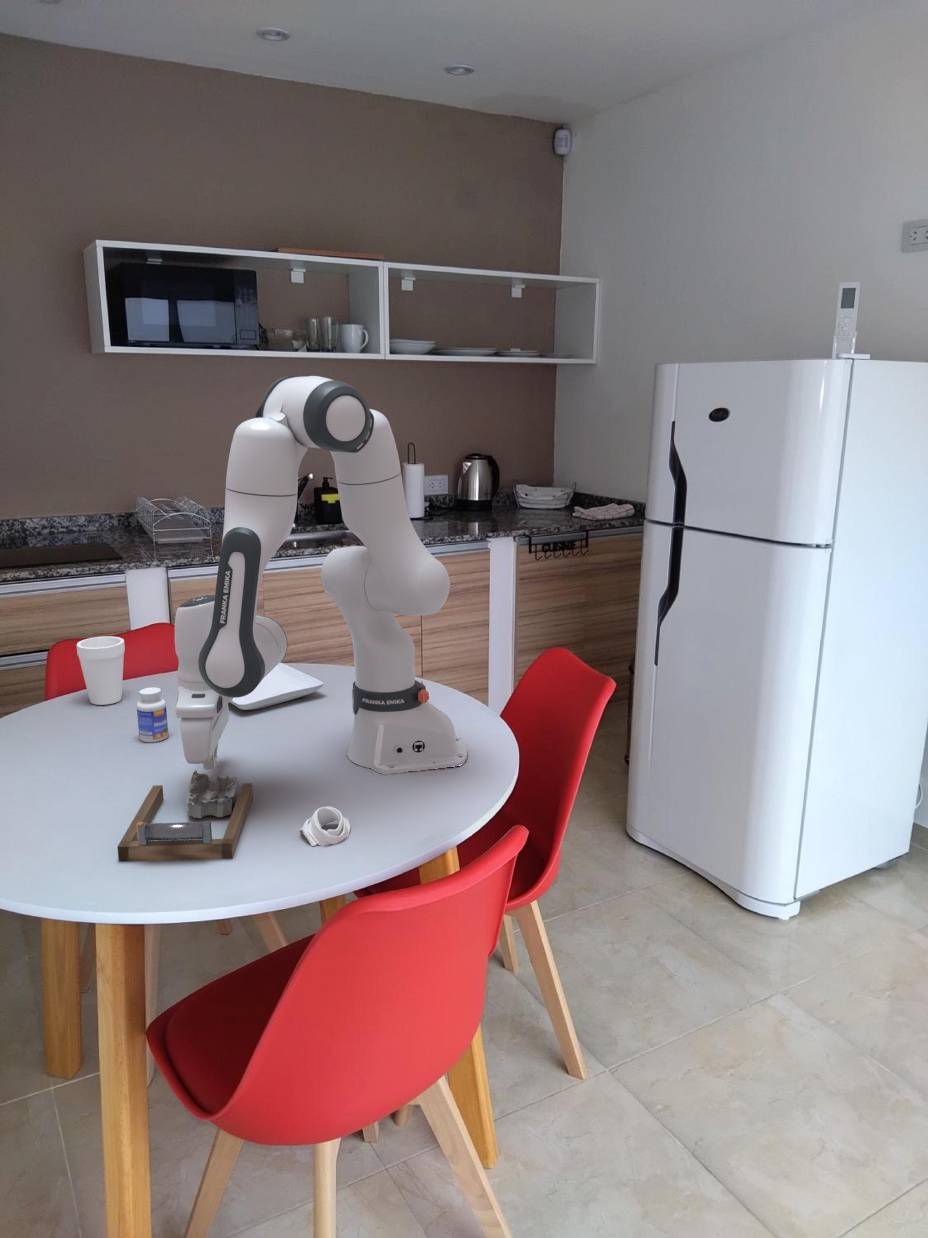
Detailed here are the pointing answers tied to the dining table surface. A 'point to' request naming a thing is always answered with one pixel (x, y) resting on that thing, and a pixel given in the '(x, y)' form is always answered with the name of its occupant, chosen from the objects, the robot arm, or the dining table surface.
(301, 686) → the salad plate
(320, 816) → the white crumpled cloth
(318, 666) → the dining table surface
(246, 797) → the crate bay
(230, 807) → the egg carton
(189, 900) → the dining table surface
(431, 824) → the dining table surface
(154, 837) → the winch
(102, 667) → the foam cup
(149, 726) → the pill bottle
